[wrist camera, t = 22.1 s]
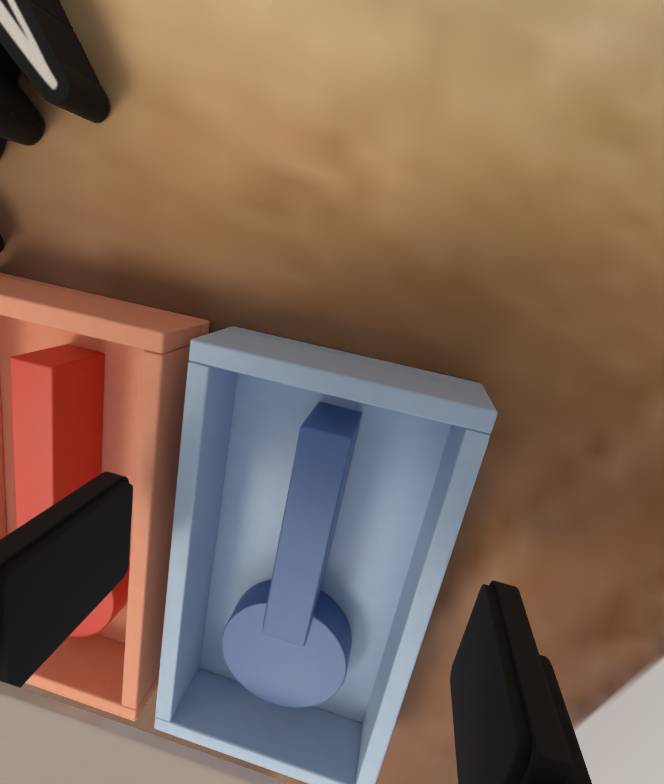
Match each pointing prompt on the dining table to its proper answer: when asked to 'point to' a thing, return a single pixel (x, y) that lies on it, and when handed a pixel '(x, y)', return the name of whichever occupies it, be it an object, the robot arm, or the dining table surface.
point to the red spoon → (59, 441)
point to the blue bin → (348, 551)
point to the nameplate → (42, 70)
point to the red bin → (111, 468)
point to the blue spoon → (300, 579)
